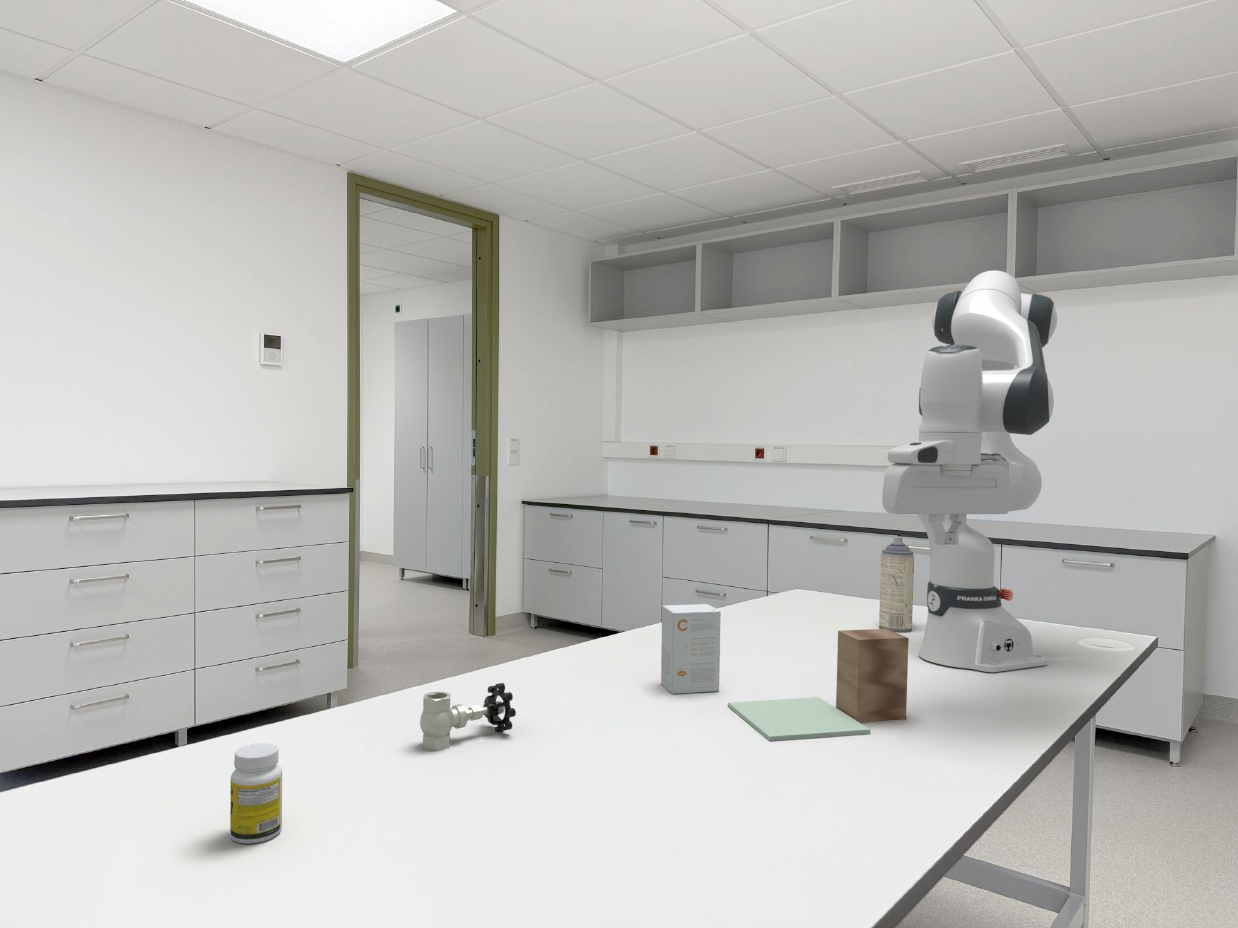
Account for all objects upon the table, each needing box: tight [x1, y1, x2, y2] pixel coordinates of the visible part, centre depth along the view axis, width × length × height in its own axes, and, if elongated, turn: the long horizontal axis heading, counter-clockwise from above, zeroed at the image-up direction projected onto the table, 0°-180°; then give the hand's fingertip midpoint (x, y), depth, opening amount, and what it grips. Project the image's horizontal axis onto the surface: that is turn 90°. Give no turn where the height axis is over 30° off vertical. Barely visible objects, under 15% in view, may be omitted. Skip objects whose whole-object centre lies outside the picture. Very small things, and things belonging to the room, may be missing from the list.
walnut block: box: [835, 628, 909, 724], centre depth 125 cm, size 8×6×12 cm
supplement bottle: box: [229, 742, 283, 845], centre depth 84 cm, size 5×5×8 cm
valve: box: [419, 682, 517, 752], centre depth 112 cm, size 7×7×12 cm
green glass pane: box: [727, 696, 871, 742], centre depth 122 cm, size 15×15×1 cm
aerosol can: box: [878, 536, 915, 633], centre depth 185 cm, size 7×7×20 cm
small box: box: [660, 603, 721, 695], centre depth 137 cm, size 8×6×13 cm
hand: (946, 544), depth 128 cm, fingers closed
